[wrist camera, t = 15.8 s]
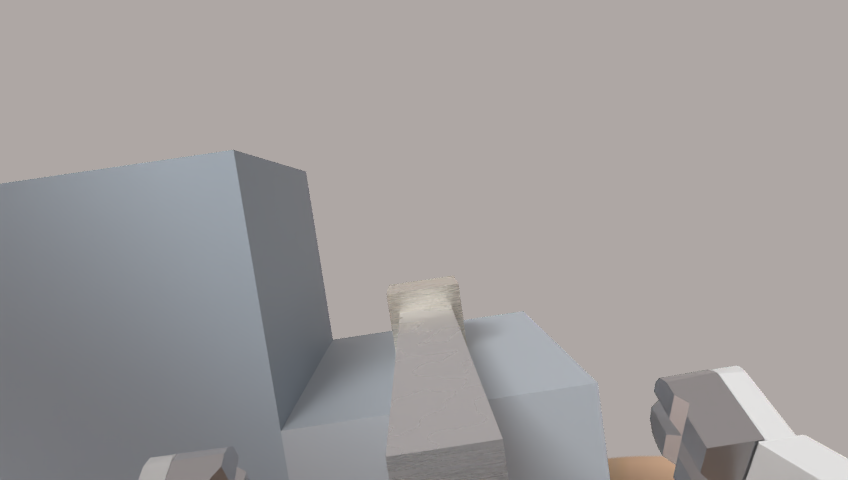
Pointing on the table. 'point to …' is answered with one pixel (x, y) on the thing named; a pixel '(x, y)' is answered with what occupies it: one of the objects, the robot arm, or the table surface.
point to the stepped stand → (226, 337)
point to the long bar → (437, 391)
